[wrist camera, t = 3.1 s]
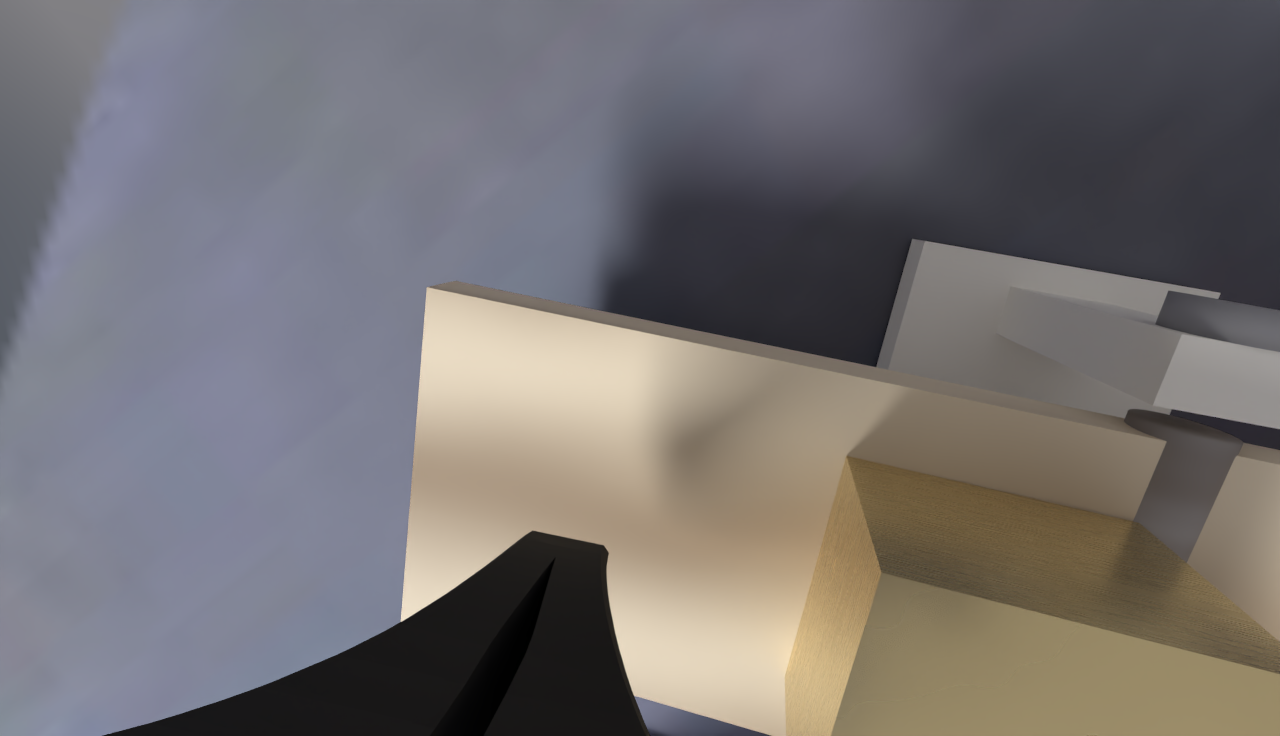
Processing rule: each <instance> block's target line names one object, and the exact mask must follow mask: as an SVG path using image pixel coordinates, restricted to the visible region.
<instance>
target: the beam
mask: <svg viewBox="0 0 1280 736" xmlns="http://www.w3.org/2000/svg"><path fill="white" fill-rule="evenodd" d="M846 456H850V457H854V458H859V459H863V460H868V461H872V462H876V463H881V464H885V465H889V466H894V467H898V468H902V469H907V470H911V471H915V472H920V473H924V474H928V475H933V476H937V477H941V478H946V479H950V480H955V481H959V482H963V483H968V484H972V485H976V486H981V487H985V488H989V489H994V490H998V491H1002V492H1007V493H1011V494H1015V495H1020V496H1024V497H1029V498H1033V499H1037V500H1042V501H1046V502H1050V503H1055V504H1059V505H1063V506H1068V507H1072V508H1076V509H1081V510H1085V511H1089V512H1094V513H1098V514H1103V515H1107V516H1111V517H1116V518H1120V519H1124V520H1129V521H1133V522H1137V523H1140V524H1141V525H1142V526H1144V527H1145V528H1146V529H1147V530H1148V531H1150V532H1151V533H1152V534H1153V535H1154V536H1155V537H1157V538H1158V539H1159V540H1160V541H1161V542H1163V543H1164V544H1165V545H1166V546H1167V547H1168V548H1170V549H1171V550H1172V551H1173V552H1174V553H1176V554H1177V555H1178V556H1179V557H1180V558H1181V559H1183V560H1184V561H1185V562H1186V563H1187V564H1189V565H1190V566H1191V567H1192V568H1193V569H1194V570H1196V571H1197V572H1198V573H1199V574H1200V575H1202V576H1203V577H1204V578H1205V579H1206V580H1207V581H1209V582H1210V583H1211V584H1212V585H1213V586H1215V587H1216V588H1217V589H1218V590H1219V591H1220V592H1222V593H1223V594H1224V595H1225V596H1226V597H1227V598H1229V599H1230V600H1231V601H1232V602H1233V603H1235V604H1236V605H1237V606H1238V607H1239V608H1240V609H1242V610H1243V611H1244V612H1245V613H1246V614H1248V615H1249V616H1250V617H1251V618H1252V619H1253V620H1255V621H1256V622H1257V623H1258V624H1259V625H1261V626H1262V627H1263V628H1264V629H1265V630H1266V631H1268V632H1269V633H1270V634H1271V635H1272V636H1274V637H1275V638H1276V639H1277V640H1278V641H1279V642H1280V450H1276V449H1272V448H1267V447H1262V446H1257V445H1252V444H1247V443H1243V441H1241V440H1240V439H1238V438H1236V437H1234V436H1232V435H1230V434H1228V433H1225V432H1223V431H1220V430H1218V429H1215V428H1212V427H1209V426H1206V425H1203V424H1200V423H1197V422H1194V421H1190V420H1187V419H1183V418H1180V417H1176V416H1172V415H1168V414H1164V413H1159V412H1154V411H1149V410H1142V409H1129V410H1128V412H1127V414H1126V417H1125V418H1121V417H1116V416H1111V415H1106V414H1101V413H1096V412H1091V411H1087V410H1082V409H1077V408H1072V407H1067V406H1062V405H1057V404H1052V403H1048V402H1043V401H1038V400H1033V399H1028V398H1023V397H1018V396H1014V395H1009V394H1004V393H999V392H994V391H989V390H984V389H979V388H975V387H970V386H965V385H960V384H955V383H950V382H945V381H940V380H936V379H931V378H926V377H921V376H916V375H911V374H906V373H902V372H897V371H892V370H887V369H882V368H877V367H872V366H867V365H863V364H858V363H853V362H848V361H843V360H838V359H833V358H828V357H824V356H819V355H814V354H809V353H804V352H799V351H794V350H790V349H785V348H780V347H775V346H770V345H765V344H760V343H755V342H751V341H746V340H741V339H736V338H731V337H726V336H721V335H716V334H712V333H707V332H702V331H697V330H692V329H687V328H682V327H678V326H673V325H668V324H663V323H658V322H653V321H648V320H643V319H639V318H634V317H629V316H624V315H619V314H614V313H609V312H604V311H600V310H595V309H590V308H585V307H580V306H575V305H570V304H565V303H561V302H556V301H551V300H546V299H541V298H536V297H531V296H527V295H522V294H517V293H512V292H507V291H502V290H497V289H492V288H488V287H483V286H478V285H473V284H468V283H463V282H458V281H453V282H448V283H444V284H439V285H435V286H430V287H427V293H426V306H425V319H424V331H423V344H422V357H421V370H420V383H419V395H418V408H417V421H416V434H415V447H414V459H413V472H412V485H411V498H410V511H409V524H408V536H407V549H406V562H405V575H404V588H403V600H402V613H401V622H402V621H403V620H405V619H407V618H409V617H410V616H412V615H413V614H415V613H416V612H418V611H420V610H421V609H423V608H424V607H426V606H428V605H429V604H431V603H432V602H434V601H435V600H437V599H439V598H440V597H442V596H443V595H445V594H446V593H448V592H449V591H451V590H452V589H454V588H455V587H457V586H458V585H459V584H461V583H462V582H464V581H465V580H466V579H468V578H469V577H471V576H472V575H473V574H475V573H476V572H478V571H479V570H480V569H482V568H483V567H485V566H486V565H487V564H488V563H490V562H491V561H492V560H494V559H495V558H496V557H498V556H499V555H500V554H502V553H503V552H504V551H505V550H507V549H508V548H509V547H510V546H512V545H513V544H514V543H516V542H517V541H518V540H519V539H521V538H522V537H523V536H525V535H526V534H528V533H529V532H531V531H532V530H533V531H537V532H542V533H547V534H552V535H557V536H562V537H567V538H571V539H576V540H581V541H586V542H591V543H596V544H600V545H604V546H605V548H606V549H607V551H608V552H609V556H608V561H607V587H608V596H609V603H610V609H611V614H612V619H613V624H614V629H615V634H616V638H617V642H618V646H619V650H620V653H621V657H622V660H623V664H624V667H625V671H626V674H627V677H628V680H629V683H630V686H631V689H632V692H633V695H634V696H637V697H641V698H644V699H648V700H651V701H655V702H658V703H661V704H665V705H668V706H672V707H675V708H679V709H682V710H685V711H689V712H692V713H696V714H699V715H703V716H706V717H709V718H713V719H716V720H720V721H723V722H727V723H730V724H733V725H737V726H740V727H744V728H747V729H751V730H754V731H757V732H761V733H764V734H768V735H771V736H786V713H785V674H786V670H787V667H788V663H789V659H790V656H791V652H792V649H793V645H794V641H795V638H796V634H797V631H798V627H799V623H800V620H801V616H802V613H803V609H804V605H805V602H806V598H807V595H808V591H809V588H810V584H811V580H812V577H813V573H814V570H815V566H816V562H817V559H818V555H819V552H820V548H821V544H822V541H823V537H824V534H825V530H826V527H827V523H828V519H829V516H830V512H831V509H832V505H833V501H834V498H835V494H836V491H837V487H838V483H839V480H840V476H841V473H842V469H843V466H844V462H845V458H846Z"/></svg>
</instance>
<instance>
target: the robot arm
mask: <svg viewBox="0 0 1280 736" xmlns="http://www.w3.org/2000/svg"><path fill="white" fill-rule="evenodd" d="M608 556H609V552H608V551H607V549H606V548H605V546H604V545H600V544H596V543H591V542H586V541H581V540H576V539H571V538H567V537H562V536H557V535H552V534H547V533H542V532H537V531H533V530H532V531H531V532H529V533H528V534H526V535H525V536H523V537H522V538H521V539H519V540H518V541H517V542H516V543H514V544H513V545H512V546H510V547H509V548H508V549H507V550H505V551H504V552H503V553H502V554H500V555H499V556H498V557H496V558H495V559H494V560H492V561H491V562H490V563H488V564H487V565H486V566H485V567H483V568H482V569H480V570H479V571H478V572H476V573H475V574H473V575H472V576H471V577H469V578H468V579H466V580H465V581H464V582H462V583H461V584H459V585H458V586H457V587H455V588H454V589H452V590H451V591H449V592H448V593H446V594H445V595H443V596H442V597H440V598H439V599H437V600H435V601H434V602H432V603H431V604H429V605H428V606H426V607H424V608H423V609H421V610H420V611H418V612H416V613H415V614H413V615H412V616H410V617H409V618H407V619H405V620H403V621H402V622H400V623H398V624H397V625H395V626H393V627H391V628H390V629H388V630H386V631H384V632H382V633H380V634H378V635H376V636H374V637H372V638H370V639H368V640H366V641H364V642H362V643H360V644H358V645H356V646H355V647H353V648H351V649H348V650H346V651H344V652H342V653H340V654H338V655H335V656H333V657H331V658H328V659H326V660H324V661H321V662H319V663H317V664H314V665H312V666H309V667H307V668H305V669H302V670H300V671H298V672H295V673H293V674H290V675H288V676H286V677H283V678H281V679H279V680H276V681H274V682H271V683H269V684H266V685H264V686H261V687H258V688H255V689H253V690H250V691H247V692H244V693H241V694H239V695H236V696H233V697H230V698H228V699H225V700H222V701H219V702H216V703H213V704H210V705H206V706H203V707H200V708H197V709H194V710H191V711H188V712H185V713H182V714H179V715H175V716H172V717H169V718H165V719H162V720H159V721H155V722H152V723H149V724H145V725H141V726H137V727H134V728H130V729H126V730H122V731H119V732H115V733H111V734H107V735H103V736H650V734H649V732H648V730H647V727H646V725H645V723H644V720H643V718H642V715H641V713H640V710H639V708H638V705H637V703H636V700H635V697H634V695H633V692H632V689H631V686H630V683H629V680H628V677H627V674H626V671H625V667H624V664H623V660H622V657H621V653H620V650H619V646H618V642H617V638H616V634H615V629H614V624H613V619H612V614H611V609H610V603H609V596H608V587H607V561H608Z"/></svg>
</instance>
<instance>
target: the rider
mask: <svg viewBox="0 0 1280 736" xmlns="http://www.w3.org/2000/svg"><path fill="white" fill-rule="evenodd" d="M785 713H786V736H1280V642H1279V641H1278V640H1277V639H1276V638H1275V637H1274V636H1272V635H1271V634H1270V633H1269V632H1268V631H1266V630H1265V629H1264V628H1263V627H1262V626H1261V625H1259V624H1258V623H1257V622H1256V621H1255V620H1253V619H1252V618H1251V617H1250V616H1249V615H1248V614H1246V613H1245V612H1244V611H1243V610H1242V609H1240V608H1239V607H1238V606H1237V605H1236V604H1235V603H1233V602H1232V601H1231V600H1230V599H1229V598H1227V597H1226V596H1225V595H1224V594H1223V593H1222V592H1220V591H1219V590H1218V589H1217V588H1216V587H1215V586H1213V585H1212V584H1211V583H1210V582H1209V581H1207V580H1206V579H1205V578H1204V577H1203V576H1202V575H1200V574H1199V573H1198V572H1197V571H1196V570H1194V569H1193V568H1192V567H1191V566H1190V565H1189V564H1187V563H1186V562H1185V561H1184V560H1183V559H1181V558H1180V557H1179V556H1178V555H1177V554H1176V553H1174V552H1173V551H1172V550H1171V549H1170V548H1168V547H1167V546H1166V545H1165V544H1164V543H1163V542H1161V541H1160V540H1159V539H1158V538H1157V537H1155V536H1154V535H1153V534H1152V533H1151V532H1150V531H1148V530H1147V529H1146V528H1145V527H1144V526H1142V525H1141V524H1140V523H1137V522H1133V521H1129V520H1124V519H1120V518H1116V517H1111V516H1107V515H1103V514H1098V513H1094V512H1089V511H1085V510H1081V509H1076V508H1072V507H1068V506H1063V505H1059V504H1055V503H1050V502H1046V501H1042V500H1037V499H1033V498H1029V497H1024V496H1020V495H1015V494H1011V493H1007V492H1002V491H998V490H994V489H989V488H985V487H981V486H976V485H972V484H968V483H963V482H959V481H955V480H950V479H946V478H941V477H937V476H933V475H928V474H924V473H920V472H915V471H911V470H907V469H902V468H898V467H894V466H889V465H885V464H881V463H876V462H872V461H868V460H863V459H859V458H854V457H850V456H846V458H845V462H844V466H843V469H842V473H841V476H840V480H839V483H838V487H837V491H836V494H835V498H834V501H833V505H832V509H831V512H830V516H829V519H828V523H827V527H826V530H825V534H824V537H823V541H822V544H821V548H820V552H819V555H818V559H817V562H816V566H815V570H814V573H813V577H812V580H811V584H810V588H809V591H808V595H807V598H806V602H805V605H804V609H803V613H802V616H801V620H800V623H799V627H798V631H797V634H796V638H795V641H794V645H793V649H792V652H791V656H790V659H789V663H788V667H787V670H786V674H785Z"/></svg>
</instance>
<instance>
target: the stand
mask: <svg viewBox="0 0 1280 736" xmlns="http://www.w3.org/2000/svg"><path fill="white" fill-rule="evenodd" d="M1220 294H1221V293H1218V292H1212V291H1207V290H1201V289H1196V288H1190V287H1184V286H1179V285H1173V284H1167V283H1162V282H1156V281H1150V280H1145V279H1139V278H1133V277H1128V276H1122V275H1116V274H1110V273H1105V272H1099V271H1093V270H1088V269H1082V268H1076V267H1071V266H1065V265H1059V264H1054V263H1048V262H1042V261H1037V260H1031V259H1025V258H1020V257H1014V256H1008V255H1002V254H997V253H991V252H985V251H980V250H974V249H968V248H963V247H957V246H951V245H946V244H940V243H934V242H929V241H923V240H917V239H912V241H911V245H910V248H909V252H908V256H907V259H906V263H905V266H904V270H903V273H902V277H901V280H900V284H899V288H898V291H897V295H896V298H895V302H894V305H893V309H892V312H891V316H890V320H889V323H888V327H887V330H886V334H885V337H884V341H883V344H882V348H881V352H880V355H879V359H878V362H877V366H876V367H877V368H882V369H887V370H892V371H897V372H902V373H906V374H911V375H916V376H921V377H926V378H931V379H936V380H940V381H945V382H950V383H955V384H960V385H965V386H970V387H975V388H979V389H984V390H989V391H994V392H999V393H1004V394H1009V395H1014V396H1018V397H1023V398H1028V399H1033V400H1038V401H1043V402H1048V403H1052V404H1057V405H1062V406H1067V407H1072V408H1077V409H1082V410H1087V411H1091V412H1096V413H1101V414H1106V415H1111V416H1116V417H1121V418H1125V417H1126V414H1127V412H1128V410H1129V409H1142V410H1149V411H1154V412H1159V413H1164V414H1168V415H1170V413H1171V410H1172V409H1174V410H1180V411H1185V412H1190V413H1196V414H1201V415H1206V416H1212V417H1217V418H1222V419H1228V420H1233V421H1239V422H1244V423H1249V424H1255V425H1260V426H1265V427H1271V428H1276V429H1280V310H1275V309H1270V308H1265V307H1259V306H1254V305H1248V304H1243V303H1237V302H1232V301H1226V300H1221V299H1219V296H1220Z"/></svg>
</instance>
